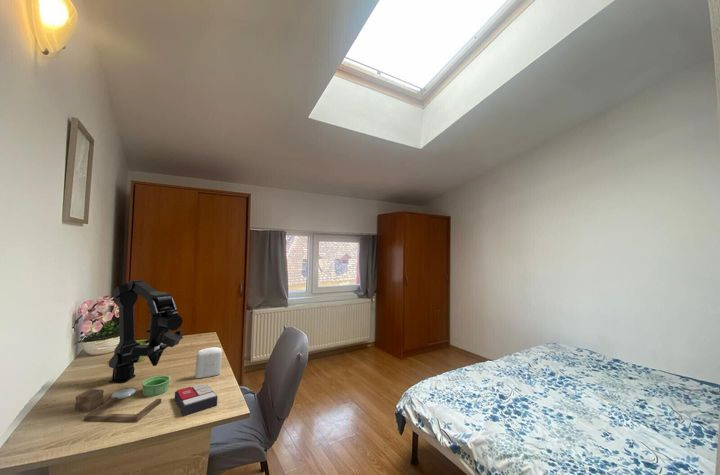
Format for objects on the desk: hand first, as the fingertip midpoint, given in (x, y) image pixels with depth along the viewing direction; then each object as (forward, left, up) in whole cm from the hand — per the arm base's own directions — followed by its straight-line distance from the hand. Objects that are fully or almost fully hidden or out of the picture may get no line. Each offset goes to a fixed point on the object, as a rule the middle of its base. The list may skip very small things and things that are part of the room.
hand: (154, 365), depth 110 cm
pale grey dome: (-9, -2, -10) cm, 14 cm away
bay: (0, -13, -10) cm, 17 cm away
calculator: (+20, -6, -11) cm, 24 cm away
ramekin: (+1, +1, -11) cm, 11 cm away
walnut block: (-14, -11, -10) cm, 21 cm away
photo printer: (+14, +16, -11) cm, 23 cm away
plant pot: (-28, +30, -11) cm, 42 cm away
